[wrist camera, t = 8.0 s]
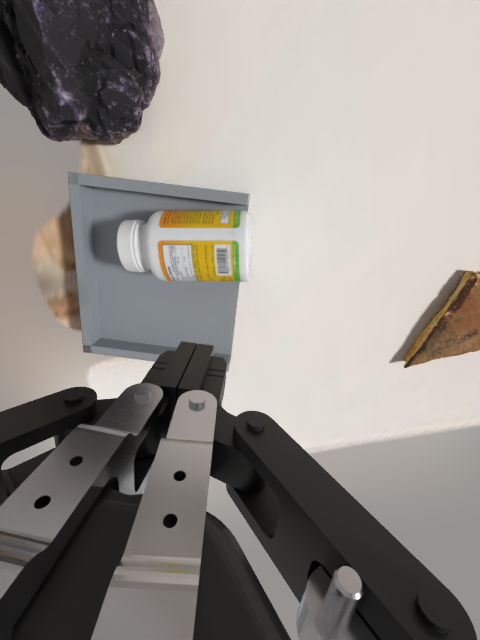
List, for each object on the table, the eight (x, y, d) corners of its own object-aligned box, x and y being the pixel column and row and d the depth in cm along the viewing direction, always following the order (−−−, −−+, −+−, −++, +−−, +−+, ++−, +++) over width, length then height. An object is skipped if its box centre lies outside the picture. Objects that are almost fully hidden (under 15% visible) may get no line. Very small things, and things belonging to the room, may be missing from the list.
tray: (85, 175, 25) (67, 171, 22) (249, 195, 24) (248, 193, 22) (96, 341, 30) (83, 352, 28) (230, 359, 30) (228, 371, 28)
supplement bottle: (251, 227, 26) (143, 226, 26) (250, 196, 20) (113, 197, 21) (249, 287, 25) (139, 286, 26) (248, 273, 20) (109, 271, 21)
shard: (397, 360, 30) (405, 370, 28) (385, 290, 27) (393, 295, 25) (517, 332, 28) (533, 339, 26) (515, 253, 25) (533, 256, 24)
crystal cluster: (46, 165, 25) (-54, 156, 16) (-51, -57, 20) (-285, -257, 11) (195, 129, 25) (176, 97, 16) (139, -113, 19) (58, -379, 10)
